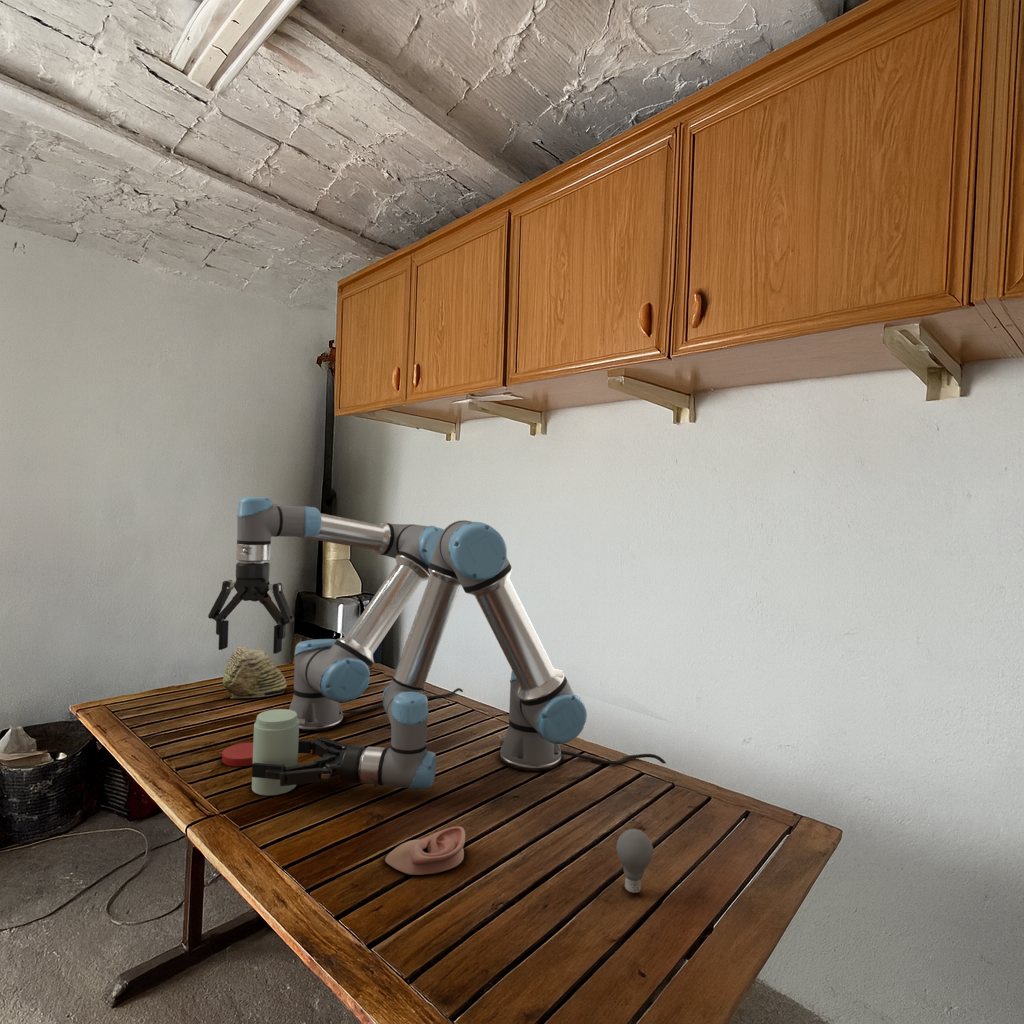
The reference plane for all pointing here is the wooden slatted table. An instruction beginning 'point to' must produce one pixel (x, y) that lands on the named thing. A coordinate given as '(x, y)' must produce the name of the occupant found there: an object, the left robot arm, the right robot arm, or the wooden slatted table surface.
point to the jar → (275, 747)
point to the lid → (238, 755)
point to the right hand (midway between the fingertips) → (268, 756)
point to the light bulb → (634, 857)
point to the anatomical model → (429, 853)
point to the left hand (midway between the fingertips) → (250, 650)
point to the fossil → (252, 674)
